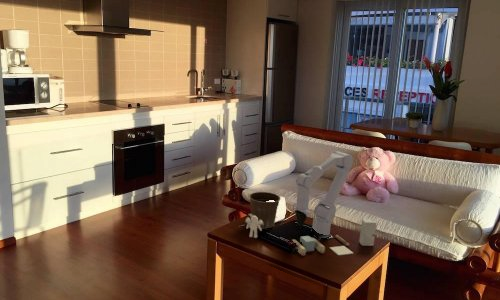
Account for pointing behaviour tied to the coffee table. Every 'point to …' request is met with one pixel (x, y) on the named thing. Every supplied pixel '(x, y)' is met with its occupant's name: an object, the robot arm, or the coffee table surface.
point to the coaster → (341, 250)
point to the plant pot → (264, 208)
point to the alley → (317, 246)
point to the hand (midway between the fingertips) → (300, 225)
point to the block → (307, 243)
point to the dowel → (342, 240)
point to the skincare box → (367, 232)
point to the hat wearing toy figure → (253, 225)
